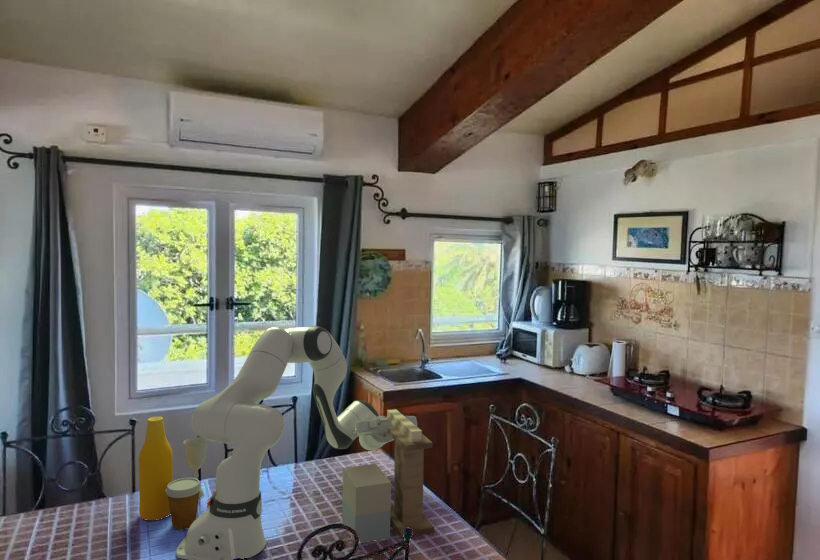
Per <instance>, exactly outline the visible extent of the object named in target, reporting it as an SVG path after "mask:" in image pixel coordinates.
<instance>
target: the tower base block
mask: <svg viewBox="0 0 820 560" xmlns="http://www.w3.org/2000/svg"><path fill="white" fill-rule="evenodd" d="M341 496H342V497H341V500H342V502H341V506H342V507H341V521H342V523H343V525H344V526H345V525H347V526H349V527H351V528H353V529H354V530H355V531H356V532H357V533H358V536H359V539H360V542H361V543H363V542H367V541H374V540H379V541H382V540H381V539H385V540H390V539H391V523H390V511H385V512H379V513H373V514H368V515H362V516H355V514H354V513H353V511H352V509H351V508H350V506H349V504H348V503H347V501H346V499H345V498H344V496H343V494H342V495H341ZM351 536H352V539H351V540H352V541H353V540H354V536H353V534H352V535H351ZM374 542H375V541H374ZM363 544H364V543H363Z"/></svg>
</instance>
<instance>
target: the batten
mask: <svg viewBox="0 0 820 560" xmlns="http://www.w3.org/2000/svg"><path fill="white" fill-rule="evenodd" d="M405 416H406V415H404V414H402V413H401V412H400V411H399V410H398V409H396V408H393V409H386V417H387V420H388V421H389V422H390V423H391V424H393V425H394V426H395V427H396V428H397V429H398V430H399V431H400V432H401V433H402V434H403V435H404V436H405V437H406V438H408V439H409V440H410V441H411V442H419V441H422V434H423V433H422V432H423V430H422V429H420V427H418V425H417V426H416V425H414V424H413V423H412V422H411V421H410V420H408V419H407V418H406V417H405Z"/></svg>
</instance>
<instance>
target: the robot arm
mask: <svg viewBox="0 0 820 560" xmlns="http://www.w3.org/2000/svg"><path fill="white" fill-rule="evenodd" d="M347 362H348V361H347V360H346V357H345V355H344V354H343V352H342V350H341V348H340V346H339V344H338V343H337V342H336V340H335V338H334V337H333V336H332V334H331V333H330V332H329V331H328V330H327V329H326V328H324V327H322V326H318V325H312V326H295V327H294V326H293V327H289V328H281V327H269V328H267V329H266V330H264V331H263V332H262V333H261V335H260V336H259V338H258V339H257V340H256V342H255V344H254V345H253V347H252V348H251V350H250V352H249V353H248V356H247V357H246V359H245V360H244V363H243V365H242V367H241V369H240V370H239V372H238V374H237V375H236V377H235V378H234V379H233V380H232V381H231V382H230V384H229V385H227V386H226V387H225V388H224V389H222V391H220V392H219V393H218V394H216V395H215V396H213V397H211V398H209V399H207V400H204V401H202V402H201V403H200V404H198V406H197V407H196V408H195V409H194V411H193V413H192V417H191V427H192V431H193V433H194V434H195V435H196V436H197V437H201V438H204V439H206V440H208V441H209V442H213V443H220V444H227V445H232V454H231V455H230V456H228V457H227V458H225V459H223V460H222V461H221V462H220V463H219V465H218V466H217V468H216V470H215V471H216V472H215V491H214V492H213V495H212V496H210V498H209V500H208V501H207V502H206V508H207V510H206V511H204V512H202V514H200V515H199V516H198V517H196V520H195V521H194V522H193V523H192V524H191V526H190V527H189V528H188V529H187V531H186V532H187V533H186V536H185V538H183V539H182V540H181V542H180V543H179V544H178V546H177V547H176V552H175V556H176V558H178V559H183V560H233V559H235V558H242V559H243V560H245V559H244V558H247V559H249V558H252V557H254V556H256V555H257V554H259V553H261V551H263V550H264V548H265V547H266V544H267V540H266V536H265V534H264V530H263V524H262V517H261V515H262V511H263V510H262V508H263V507H262V506H263V504H262V503H263V502H262V491H261V490H260V483H261V482H260V480H261V479H260V478H261V466H262V462H263V459H264V457H265V455H266V453H267V452H268V450H270V449H271V448H272V447H274V446H275V445H276V444H278V442H279V440H280V439H281V438H282V436H283V434H284V432H285V431H284V430H285V421H284V420H285V419H284V416H283V414H282V412H281V411H280V410H279V409H276V408H274V407H271V406H269V405H265V404H261V403H259V402H261V401H263V400H266V399H268V398H270V397H272V395H273V394H274V393H275V392H276V390H277V388H278V386H279V384H280V383H281V380H282V378H283V376H284V373H285V370H286V368H287V366H288V363H290V364H303V363H304V364H305V363H309V364H310V366H311V369H312V371H313V375H314V378H313V379H314V383H313V387H312V394H313V398H314V400H315V404H316V407H317V410H318V413H319V416H320V418H321V422H322V424H323V429H324V434H325V438H326V440H327V442H328V444H329V445H330V446H331V447H332V448H333V449H335V450H336V449H337V450H344V449H345V450H346V449H348V448H349V447H350V446H351V445H352V443H353V442H354V441H355V440H357V437H358V438H359V439H358V440H359V441H358V442H359V444H360V446H361V447H362V448H363V449H365V450H368V451H375V450H378V449H380V448H381V447H383V446H384V445H386V444H387V443H389V442H390V443H391V442H393V441H395V440H394V439H393V438H392V437H391V436H390V435H389V434H388V433H387V428H391V427H395V426H394V425H393V424H391V423H390V422H389V421H388V420H387V416H385V415H379V413H378V411H377V410H376V409H375V407H373V406H372V404H370V403H369V402H367V401H364V400H360V399H359V400H353V402H352V403H351V404H349V405H348V406H347V407H346V408H345V409H344V410H343V411H342V412H341V413H340V414H339V415H338V416H337V414H336V411H335V407H334V404H333V402H334V397H335V395H336V393H337V391H338V389H339V388H340V385H341V384H342V382H343V381H344V380H345V378H346V375H347V371H348V363H347ZM404 416H405V417H406V418H407V419H408V420H410V421H411V422H412V423H413V424H414V425H416V426H417V427H418V421H417V416H414V415H409V416H408V415H404Z"/></svg>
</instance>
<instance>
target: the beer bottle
mask: <svg viewBox="0 0 820 560" xmlns="http://www.w3.org/2000/svg"><path fill="white" fill-rule="evenodd" d="M164 422H165V421H164V417H163V416H152V417H149V418H147V423H146V424H147V425H146V432H145V440H144V443H143V445H142V446H141V449H140V452H139V455H138V487H139V488H138V489H139V491H138V492H139V503H138V505H139V509H138V511H139V517H140V518H143V519H147V520H156V519H161V518H164V517H166V516H168V515H170V508H169V501H168V495H167V493H166V489H167V486H168V484H169V483H170V482H172V481H174V474H173V473H174V470H173V469H174V464H173V463H174V462H173V461H174V460H173V458H174V455H173V449H172V446H171V444H170V443H169V441H168V439H167V435H166V429H165V423H164ZM170 516H171V515H170ZM168 517H169V516H168ZM166 518H167V517H166ZM143 519H142V520H143ZM164 519H165V518H164ZM161 520H162V519H161Z"/></svg>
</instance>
